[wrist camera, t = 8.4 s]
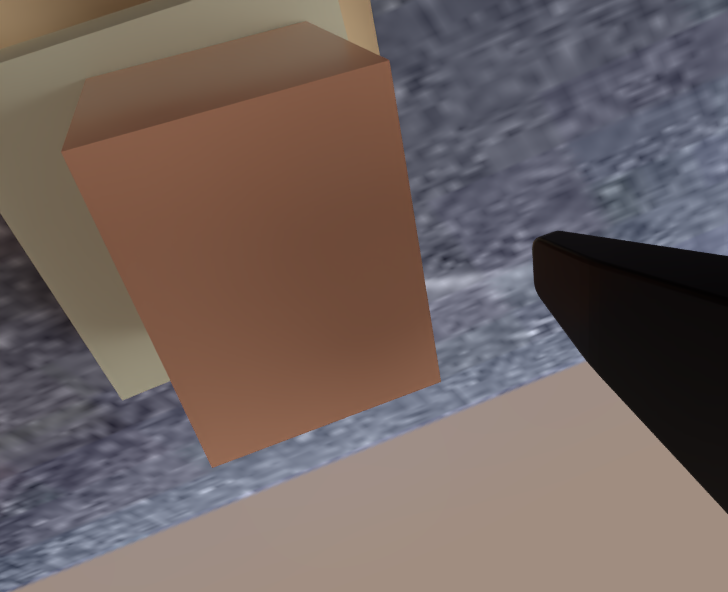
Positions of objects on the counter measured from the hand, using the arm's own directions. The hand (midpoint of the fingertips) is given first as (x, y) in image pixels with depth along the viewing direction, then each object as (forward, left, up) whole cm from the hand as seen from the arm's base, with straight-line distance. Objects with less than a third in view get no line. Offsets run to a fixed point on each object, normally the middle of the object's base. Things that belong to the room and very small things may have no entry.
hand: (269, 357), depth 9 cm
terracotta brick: (-1, -1, -6) cm, 6 cm away
